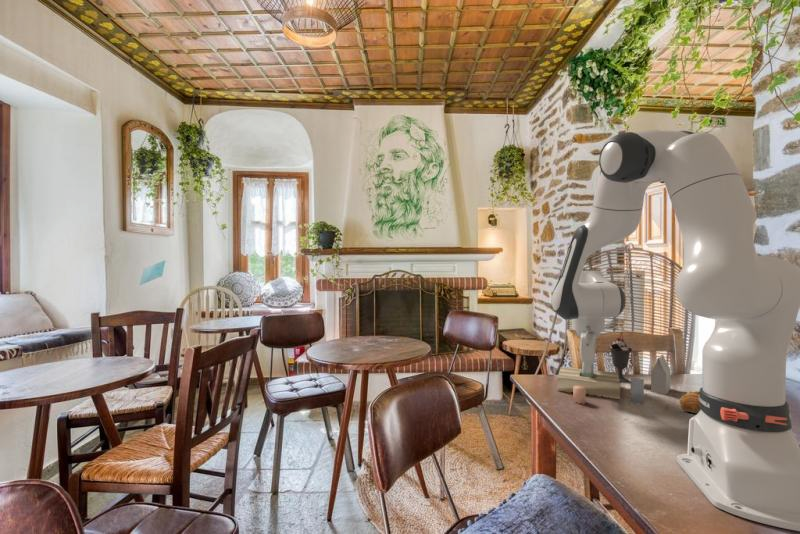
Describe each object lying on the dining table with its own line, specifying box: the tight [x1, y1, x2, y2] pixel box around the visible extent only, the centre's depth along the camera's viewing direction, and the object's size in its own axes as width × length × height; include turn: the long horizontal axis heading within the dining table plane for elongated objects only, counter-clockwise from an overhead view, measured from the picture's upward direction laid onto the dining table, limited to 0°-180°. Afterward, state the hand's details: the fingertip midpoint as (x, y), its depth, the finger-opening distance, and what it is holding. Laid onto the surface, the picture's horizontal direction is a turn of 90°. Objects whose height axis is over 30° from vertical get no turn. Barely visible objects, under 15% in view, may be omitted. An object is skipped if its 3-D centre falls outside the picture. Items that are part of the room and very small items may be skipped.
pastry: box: [679, 390, 701, 415], centre depth 98 cm, size 9×7×4 cm
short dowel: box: [572, 386, 587, 404], centre depth 104 cm, size 3×3×4 cm
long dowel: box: [581, 361, 594, 378], centre depth 115 cm, size 3×3×8 cm
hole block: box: [557, 366, 621, 400], centre depth 115 cm, size 12×16×4 cm
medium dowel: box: [630, 377, 645, 404], centre depth 104 cm, size 3×3×6 cm
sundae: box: [608, 331, 633, 383], centre depth 122 cm, size 7×7×15 cm
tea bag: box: [650, 353, 671, 396], centre depth 112 cm, size 4×7×10 cm, turn 137°
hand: (588, 370), depth 115 cm, fingers closed on long dowel, 3 cm apart
